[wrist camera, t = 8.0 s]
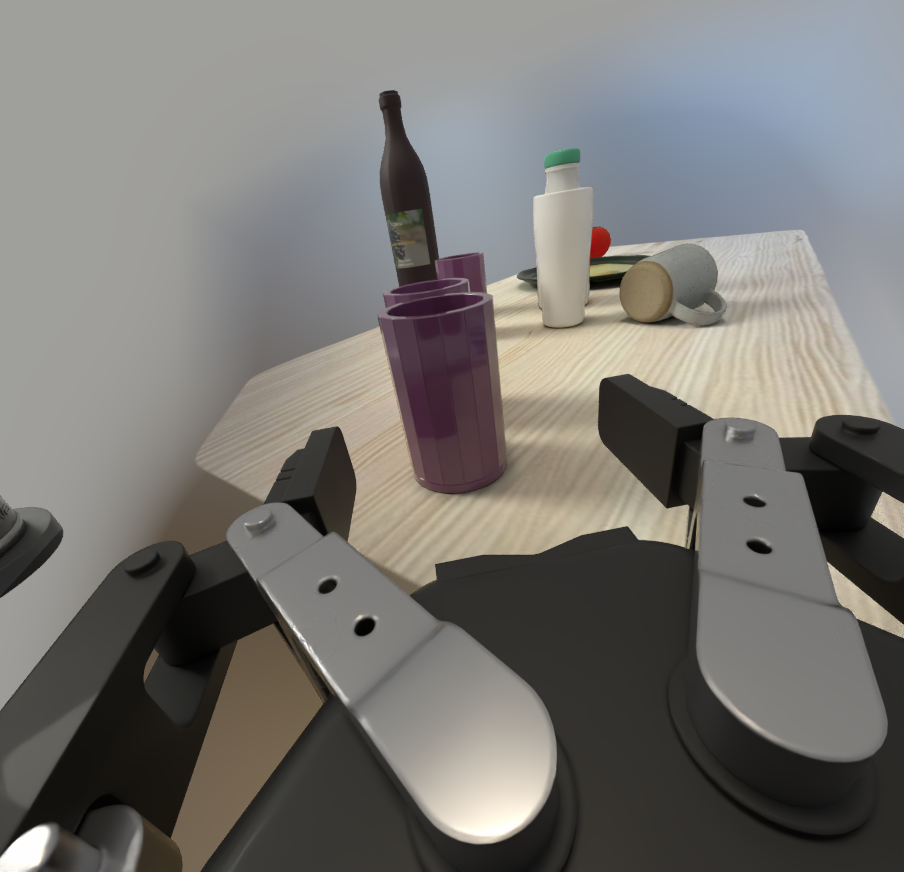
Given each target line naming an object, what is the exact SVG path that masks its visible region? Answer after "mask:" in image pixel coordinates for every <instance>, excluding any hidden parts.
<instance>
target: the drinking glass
mask: <svg viewBox="0 0 904 872" xmlns="http://www.w3.org/2000/svg"><path fill="white" fill-rule="evenodd" d="M533 223H534V224H533V226H534V240H535V250H536V258H537V267H538V276H539V284H540V293H541V303H542V320H543V323H544V325H546V326H548V327H554V328H562V327H570V326H574V325H577V324H580V323H581V322H582V321H583V320H584V316H585V297H586V287H587V277H588V267H589V258H590V249H591V239H592V228H593V187H585V188H578V189H571V190H565V191H560V192H554V193H549V194H544V195H539V196H535V197H534V198H533Z"/></svg>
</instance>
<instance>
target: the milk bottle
mask: <svg viewBox="0 0 904 872" xmlns="http://www.w3.org/2000/svg"><path fill="white" fill-rule="evenodd" d="M579 161H580V150H579V149H577V148H574V149H566V150H561V151H556V152H553V153H550V154H548V155H546V156H545V169H546V170H545V171H546V172H545V174H546V175H547V184H546V189H545V194H549V193H554V192H560V191H565V190H571V189H578V188H581V186H580V182H579V178H578V169H579V167H580V166H579ZM589 286H590V258H589V267H588V277H587V287H586V297H585V304H586V303H587V302H588V300H589ZM537 287H538V305H539V307H540V308H542V303H541V293H540V284H539V276H538V267H537Z"/></svg>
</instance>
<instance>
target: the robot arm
mask: <svg viewBox="0 0 904 872" xmlns="http://www.w3.org/2000/svg"><path fill="white" fill-rule="evenodd" d="M598 430H599V435H600V438H601V440H602V442H603V444H604V445H605V446H606V447H607V448H608V449H609V450H610V451H611V452H612V453H613V454H614V455H615V456H616V457H617V458H618V459H619V460H620V461H621V462H622V463H623V464H624V465H625V466H626V467H627V468H628V469H629V470H630V471H631V472H632V473H633V474H634V476H635V477H636V478H637V479H638V480H639V481H640V482H641V483H642V484H643V485H644V486H645V487H646V488H647V489H648V490H649V491H650V492H651V493H652V494H653V495H654V496H655V497H656V498H657V499H658V500H659V501H660V502H661V503H662V504H663V505H664V506H665V507H666V508H671V507H676V506H681V505H686V504H688V505H689V511H688V517H687V526H686V536H685V546H684V547H681V546H677V545H673V544H669V543H664V542H658V541H647V540H638V539H637V538H636V536H635V535H634V534H633V533H632V531H631V530H630V529H629V527H628V526H626V527H621V528H616V529H611V530H606V531H601V532H596V533H591V534H586V535H581V536H579V537H576V538H574V539H572V540H569V541H567V542H565V543H563V544H560V545H558V546H556V547H553V548H551V549H549V550H546V551H544V552H542V553H539V554H535V555H480V556H475V557H470V558H465V559H460V560H455V561H450V562H444V563H439V564H435V567H436V576H437V580H435V581H433V582H431V583H429V584H427V585H425V586H423V587H421V588H420V589H418V590H417V591H415V592H414V593H413V594H411V595H410V596H409V595H408V594H407V593H405V592H404V591H403V590H402V589H401V588H400V587H398V586H397V585H396V584H395V583H394V582H393V581H392V580H390V579H389V578H388V577H387V576H386V575H385V574H384V573H382V572H381V571H380V570H379V569H377V567H375V566H374V565H373V564H372V563H371V562H370V561H369V560H367V559H366V558H365V557H364V556H363V555H362V554H360V553H359V552H358V551H357V550H356V549H355V548H353V547H352V546H351V545H350V544H349V543H348V536H349V530H350V525H351V519H352V513H353V507H354V501H355V495H356V478H355V473H354V469H353V466H352V463H351V460H350V456H349V453H348V450H347V447H346V444H345V441H344V437H343V434H342V432H341V430H340V428H339V427H332V428H326V429H321V430H315V431H312V433H311V435H310V437H309V439H308V442H307V444H306V446H305V448H304V449H300V450H297V451H296V452H295V453H294V454H292V455H291V456H290V457H289V458H288V459H287V460H286V461H285V463H284V465H283V467H282V469H281V473H279V475H278V477H277V479H276V482H275V483H274V485H273V487H272V489H271V491H270V493H269V495H268V496H267V498H266V500H265V502H264V504H263V505H262V506H259V507H256V508H254V509H252V510H250V511H248V512H246V513H245V514H243V515H242V516H240V517H239V518H238V519H237V520H236V521H234V522H233V523H232V525H231V526H230V527H229V529H228V531H227V533H226V539H227V541H225V542H222V543H220V544H218V545H215V546H212V547H210V548H207V549H205V550H202V551H199V552H197V553H195V554H192V555H189V554H188V552H187V551H186V549H185V548H184V546H183V545H182V544H181V543H180V542H177V541H166V542H160V543H157V544H153V545H151V546H148V547H146V548H144V549H142V550H140V551H138V552H136V553H134V554H132V555H131V556H129V557H128V558H126V559H125V560H123V561H122V562H121V563H119V564H118V565H117V566H116V567H115V568H114V569H113V570H112V571H111V572H110V573H109V574H108V575H107V577H106V578H105V579H104V581H103V582H102V583H101V584H100V585H99V587H98V588H97V589H96V591H95V592H94V593H93V594H92V596H91V597H90V598H89V599H88V601H87V602H86V603H85V605H84V606H83V607H82V609H81V610H80V611H79V612H78V613H77V615H76V616H75V617H74V618H73V620H72V621H71V622H70V623H69V625H68V626H67V627H66V628H65V630H64V631H63V632H62V634H61V635H60V636H59V637H58V639H57V640H56V641H55V642H54V644H53V645H52V646H51V647H50V649H49V650H48V651H47V652H46V654H45V655H44V656H43V658H42V659H41V660H40V661H39V663H38V664H37V665H36V666H35V668H34V669H33V670H32V672H31V673H30V674H29V675H28V676H27V678H26V679H25V680H24V681H23V683H22V684H21V685H20V687H19V688H18V689H17V690H16V692H15V693H14V694H13V695H12V697H11V698H10V699H9V700H8V702H7V703H6V704H5V706H4V707H3V708H2V709H1V711H0V872H182V856H181V853H180V850H179V848H178V846H177V844H176V843H175V842H174V841H173V840H171V836H172V833H173V830H174V827H175V823H176V821H177V818H178V815H179V812H180V809H181V806H182V803H183V800H184V797H185V794H186V791H187V788H188V785H189V782H190V779H191V776H192V774H193V771H194V768H195V765H196V762H197V759H198V756H199V753H200V750H201V747H202V744H203V741H204V738H205V735H206V732H207V729H208V726H209V723H210V720H211V717H212V715H213V712H214V709H215V705H216V703H217V700H218V697H219V694H220V691H221V688H222V684H223V682H224V679H225V676H226V673H227V670H228V667H229V664H230V661H231V658H232V655H233V652H234V649H235V646H236V644H237V640H239V639H241V638H243V637H245V636H247V635H250V634H252V633H254V632H256V631H258V630H260V629H262V628H264V627H266V626H269V625H271V624H274V626H275V628H276V629H277V630H278V632H279V634H280V635H281V637H282V638H283V640H284V642H285V643H286V645H287V646H288V647H289V649H290V651H291V652H292V654H293V655H294V657H295V658H296V660H297V662H298V663H299V665H300V666H301V668H302V669H303V671H304V672H305V674H306V675H307V677H308V679H309V680H310V682H311V683H312V685H313V687H314V688H315V690H316V692H317V694H318V695H319V697H320V699H321V700H322V702H323V705H322V707H321V708H320V709H319V711H318V712H317V713H316V715H315V716H314V717H313V719H312V720H311V722H310V723H309V724H308V726H307V727H306V728H305V730H304V731H303V732H302V734H301V735H300V736H299V738H298V739H297V741H296V742H295V743H294V745H293V746H292V747H291V749H290V750H289V751H288V753H287V754H286V755H285V757H284V758H283V760H282V761H281V762H280V764H279V765H278V766H277V768H276V769H275V770H274V772H273V773H272V774H271V776H270V777H269V779H268V780H267V781H266V783H265V784H264V785H263V787H262V788H261V789H260V791H259V792H258V794H257V795H256V796H255V798H254V799H253V800H252V802H251V803H250V804H249V806H248V807H247V808H246V810H245V811H244V812H243V814H242V815H241V817H240V818H239V819H238V821H237V822H236V823H235V825H234V826H233V828H232V829H231V830H230V832H229V833H228V834H227V836H226V837H225V838H224V840H223V841H222V843H221V844H220V845H219V846H218V848H217V849H216V851H215V852H214V853H213V855H212V856H211V858H210V859H209V860H208V861H207V863H206V864H205V866H204V867H203V869H202V870H201V872H904V638H901V637H899V636H897V635H894V634H892V633H889V632H887V631H885V630H882V629H880V628H878V627H875V626H873V625H870V624H868V623H866V622H863V621H861V620H859V619H856V618H855V616H854V614H853V613H852V612H851V611H850V610H849V609H848V608H845V607H843V606H842V605H841V604H840V603H839V601H838V599H837V596H836V593H835V589H834V585H833V582H832V578H831V575H830V571H829V568H828V564H827V562H828V563H830V564H831V565H832V566H833V567H834V568H836V569H837V570H838V571H839V572H840V573H842V574H843V575H844V576H845V577H847V578H848V579H849V580H850V581H851V582H853V583H854V584H855V585H856V586H857V587H859V588H860V589H861V590H862V591H864V592H865V593H866V594H867V595H868V596H870V597H871V598H872V599H873V600H874V601H876V602H877V603H878V604H879V605H881V606H882V607H883V608H884V609H885V610H887V611H888V612H889V613H890V614H891V615H893V616H894V617H895V618H896V619H898V620H899V621H900V622H901V623H902V624H904V538H902V537H901V536H899V535H897V534H896V533H894V532H893V531H891V530H890V529H888V528H887V527H885V526H884V525H882V524H880V523H879V522H877V521H876V520H874V519H873V518H871V515H872V513H873V511H874V509H875V507H876V504H877V502H878V500H879V498H880V496H881V494H882V491H883V492H885V493H886V494H888V495H890V496H892V497H894V498H895V499H897V500H899V501H901V502H902V503H904V429H901V428H899V427H897V426H894V425H892V424H889V423H886V422H883V421H880V420H876V419H872V418H867V417H861V416H852V415H832V416H826V417H823V418H820V419H818V420H817V421H816V424H815V427H814V430H813V433H812V436H811V437H796V438H779V437H778V434H777V432H776V431H775V430H774V429H772V428H771V427H769V426H767V425H765V424H763V423H760V422H757V421H753V420H748V419H742V418H720V419H715V420H714V419H713V418H711V417H709V416H708V415H706V414H704V413H702V412H701V411H699V410H697V409H696V408H694V407H692V406H690V405H687V403H685V402H684V401H682V400H680V399H677V397H675V396H673V395H672V394H670V393H668V392H666V391H664V390H661V389H657V388H654V387H650V386H648V385H647V384H645V383H643V382H642V381H640V380H638V379H637V378H635V377H633V376H632V375H630V374H625V375H619V376H614V377H608V378H604V379H602V381H601V383H600V388H599V414H598ZM26 529H27V523H26V522H25V520H24V519H23V518H22V517H21V516H20V515H19V513H18V512H16V511H14V510H12V509H11V507H10V506H9V505H8V504H7V503H6V502H5V500H4V499H3V498H2V497H1V496H0V557H1V556H3V555H4V554H5V553H6V552H7V551H9V550H10V549H11V548H12V547H13V546H14V545H15V544H16V543H17V542H18V541H19V540H20V539H21V537H22V536H23V535H24V533H25V531H26ZM154 648H155V650H156V651H157V652H158V653H159V656H158V658H157V660H156V662H155V664H154V666H153V668H152V669H151V671H150V673H149V675H148V677H147V679H146V681H145V683H144V681H143V675H144V669H145V665H146V662H147V660H148V658H149V656H150V655H151V652H152V651H153V649H154Z"/></svg>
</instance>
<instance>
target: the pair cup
mask: <svg viewBox="0 0 904 872" xmlns="http://www.w3.org/2000/svg"><path fill="white" fill-rule="evenodd" d="M464 292H470V287H469V280H468V279H465V278H448V279H437V280H430V281H423V282H418V283H413V284H408V285H404V286H400V287H396V288H393V289H390V290H387V291H386V292H384V293H383V296H384V301H385V306H386V308H388V307H390V306H393V305H395V304H399V303H402V302H406V301H410V300H414V299H419V298H424V297H429V296H435V295H443V294H450V293H451V294H452V293H464Z"/></svg>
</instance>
